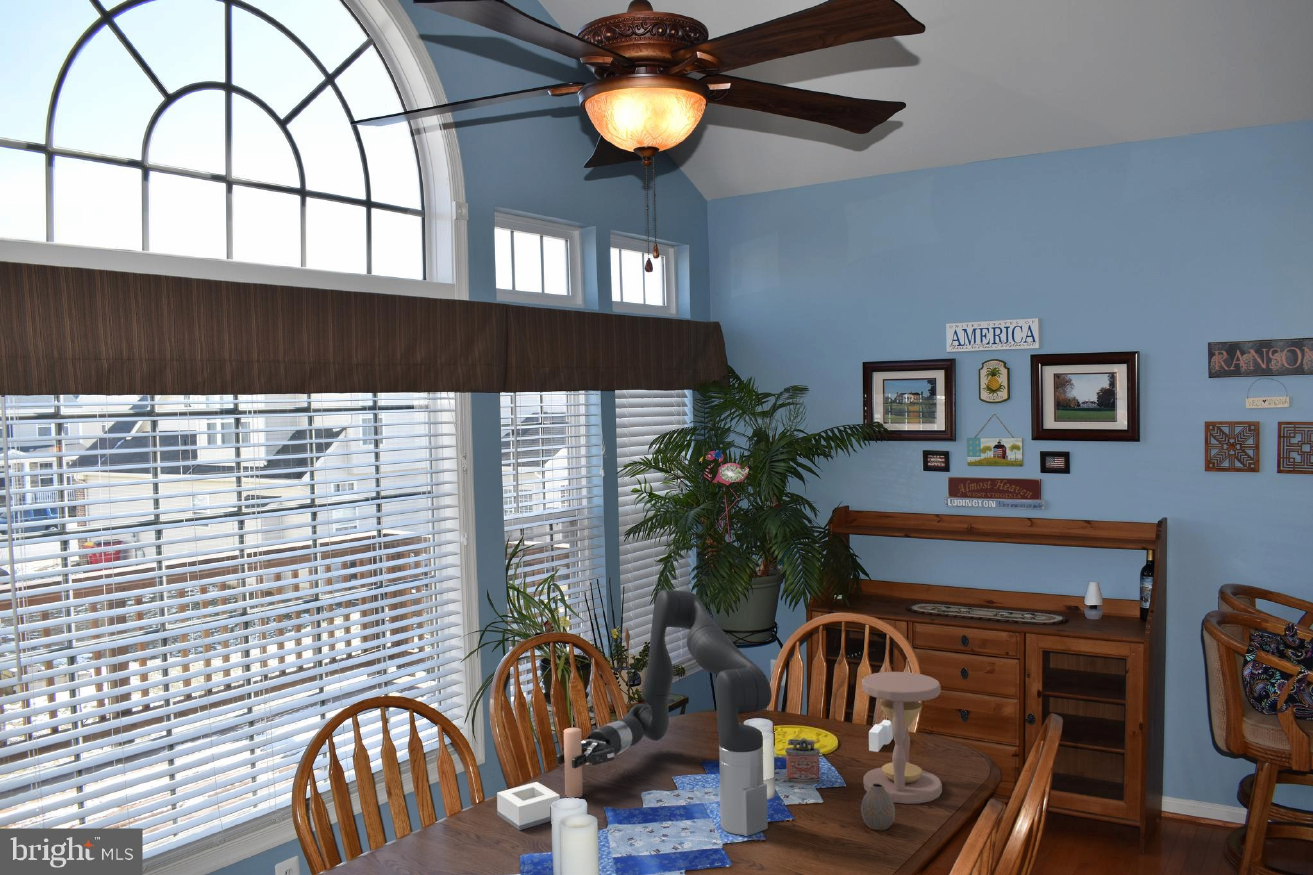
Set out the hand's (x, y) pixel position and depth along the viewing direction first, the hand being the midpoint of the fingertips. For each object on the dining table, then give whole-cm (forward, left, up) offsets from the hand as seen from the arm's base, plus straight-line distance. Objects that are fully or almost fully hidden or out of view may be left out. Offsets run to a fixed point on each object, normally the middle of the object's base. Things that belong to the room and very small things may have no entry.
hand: (565, 762), depth 218 cm
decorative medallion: (-5, -67, -9) cm, 68 cm away
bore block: (-3, +11, -9) cm, 15 cm away
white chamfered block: (-21, -84, -9) cm, 87 cm away
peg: (+1, -3, -8) cm, 9 cm away
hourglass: (-44, -64, -9) cm, 78 cm away
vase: (-54, -44, -9) cm, 70 cm away
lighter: (-26, -50, -9) cm, 57 cm away
